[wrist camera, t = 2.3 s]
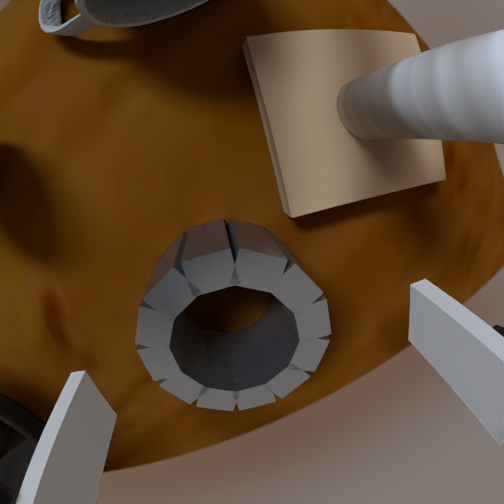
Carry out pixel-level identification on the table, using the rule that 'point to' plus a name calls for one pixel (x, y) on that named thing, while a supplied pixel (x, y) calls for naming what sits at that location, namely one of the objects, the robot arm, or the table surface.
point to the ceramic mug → (110, 14)
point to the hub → (238, 342)
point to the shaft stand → (369, 109)
